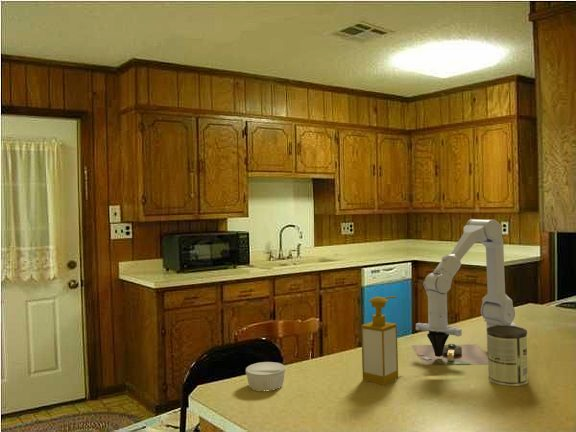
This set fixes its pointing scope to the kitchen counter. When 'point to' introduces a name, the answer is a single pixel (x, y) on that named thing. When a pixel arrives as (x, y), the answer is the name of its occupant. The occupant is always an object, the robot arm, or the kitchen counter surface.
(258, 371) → the ramekin
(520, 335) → the coffee can
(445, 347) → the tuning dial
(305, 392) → the kitchen counter surface
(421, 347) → the brown flat square slab
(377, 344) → the soap bottle
